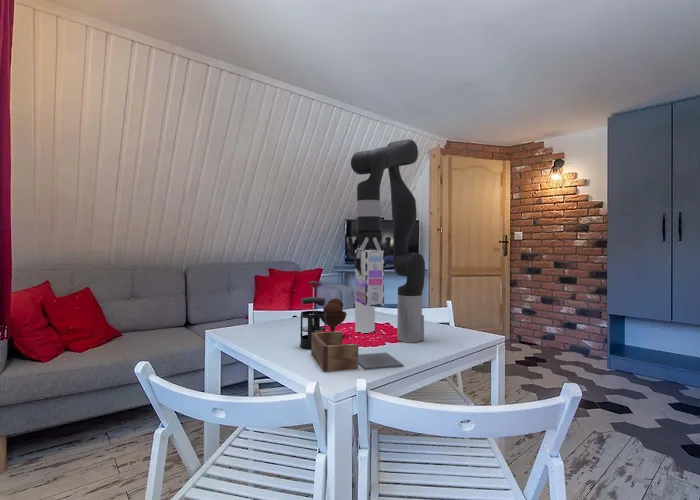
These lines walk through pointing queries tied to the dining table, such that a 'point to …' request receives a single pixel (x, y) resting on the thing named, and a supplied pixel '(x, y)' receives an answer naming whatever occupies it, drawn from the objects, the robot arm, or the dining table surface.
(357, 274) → the candy box
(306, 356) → the dining table surface
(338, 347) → the holder
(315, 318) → the french press
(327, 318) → the ice cream bowl
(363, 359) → the mat
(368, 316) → the milk
